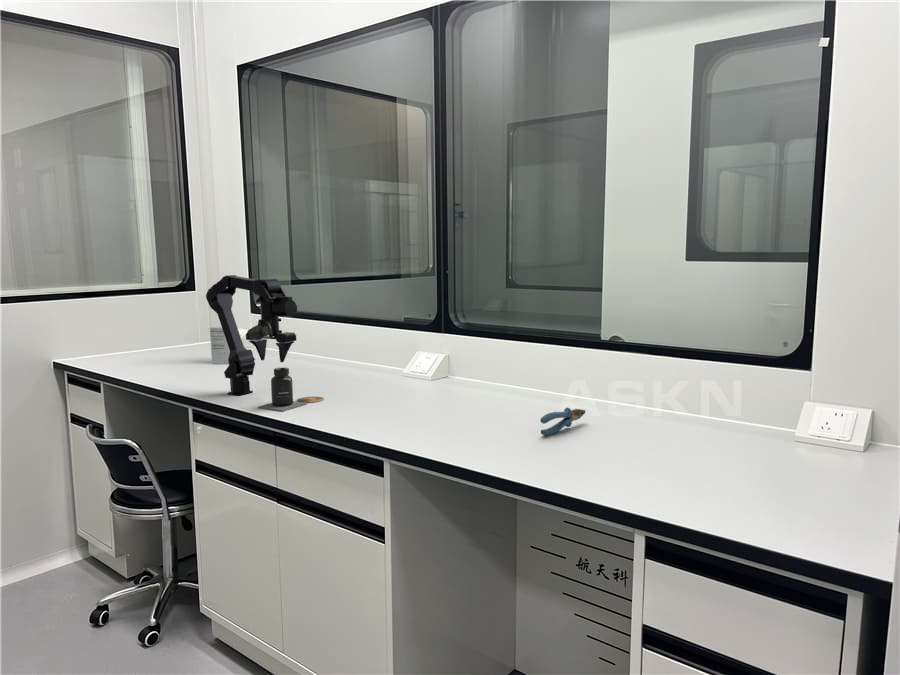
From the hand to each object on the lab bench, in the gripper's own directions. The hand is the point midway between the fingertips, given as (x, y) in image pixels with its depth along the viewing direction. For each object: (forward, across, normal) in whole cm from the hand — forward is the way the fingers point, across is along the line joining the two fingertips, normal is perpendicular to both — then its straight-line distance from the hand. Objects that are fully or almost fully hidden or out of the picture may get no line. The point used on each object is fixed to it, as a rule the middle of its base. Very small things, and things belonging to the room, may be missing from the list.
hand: (272, 361), depth 230 cm
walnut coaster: (+13, +13, +4) cm, 19 cm away
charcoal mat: (+13, +11, -7) cm, 18 cm away
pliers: (+14, +102, +10) cm, 104 cm away
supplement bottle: (+13, +11, -7) cm, 18 cm away
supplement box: (+13, -75, +43) cm, 87 cm away
